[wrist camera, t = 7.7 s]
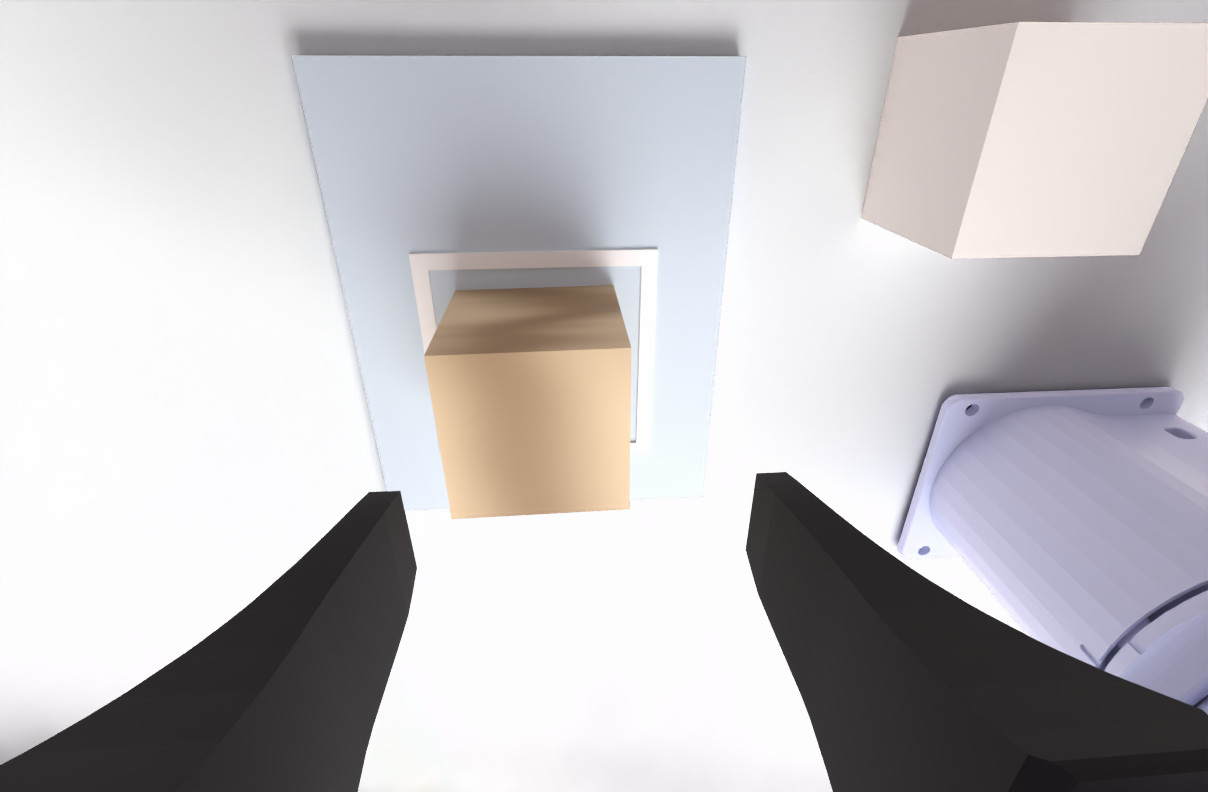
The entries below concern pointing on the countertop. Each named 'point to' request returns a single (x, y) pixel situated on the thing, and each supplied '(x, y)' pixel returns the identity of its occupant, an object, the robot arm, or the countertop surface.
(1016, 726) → the robot arm
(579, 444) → the base cube
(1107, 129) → the top cube
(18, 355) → the countertop surface
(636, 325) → the board
